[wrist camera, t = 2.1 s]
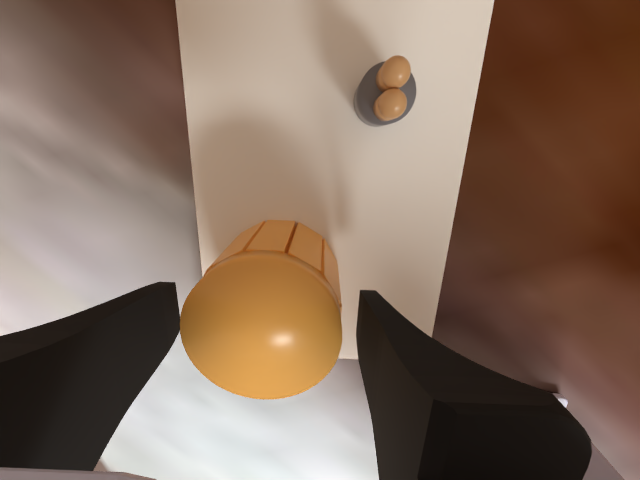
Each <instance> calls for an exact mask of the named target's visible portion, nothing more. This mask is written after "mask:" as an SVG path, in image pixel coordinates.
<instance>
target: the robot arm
mask: <svg viewBox="0 0 640 480" xmlns="http://www.w3.org/2000/svg"><path fill="white" fill-rule="evenodd" d="M179 331H180V314H179V307H178V300H177V292H176V285H175V282H157V283H154V284H151V285H148V286H145V287H142V288H140V289H137V290H135V291H132V292H130V293H127V294H125V295H122V296H120V297H117V298H115V299H112V300H110V301H108V302H105V303H102V304H100V305H97V306H95V307H92V308H89V309H87V310H84V311H81V312H79V313H76V314H73V315H71V316H68V317H65V318H62V319H59V320H56V321H53V322H50V323H46V324H43V325H40V326H37V327H33V328H30V329H26V330H23V331H19V332H15V333H11V334H7V335H3V336H0V480H156V479H152V478H148V477H143V476H139V475H134V474H129V473H125V472H102V471H93V470H94V468H95V466H96V464H97V462H98V461H99V459H100V457H101V455H102V453H103V451H104V449H105V448H106V446H107V444H108V442H109V440H110V439H111V437H112V435H113V434H114V432H115V430H116V428H117V427H118V425H119V423H120V421H121V420H122V418H123V416H124V415H125V413H126V412H127V410H128V409H129V407H130V405H131V404H132V402H133V401H134V400H135V398H136V397H137V395H138V394H139V393H140V391H141V390H142V388H143V387H144V386H145V384H146V383H147V381H148V380H149V379H150V377H151V376H152V374H153V373H154V372H155V370H156V369H157V368H158V366H159V365H160V363H161V362H162V360H163V359H164V358H165V356H166V355H167V353H168V352H169V350H170V348H171V347H172V345H173V343H174V341H175V339H176V337H177V335H178V333H179ZM356 342H357V352H358V360H359V364H360V369H361V373H362V378H363V382H364V386H365V391H366V395H367V400H368V404H369V408H370V413H371V419H372V424H373V432H374V440H375V448H376V456H377V465H378V473H379V480H624V479H623V478H622V476H621V475H620V474H619V473H618V472H617V471H616V470H615V469H614V467H613V466H612V465H611V464H610V463H609V462H608V461H607V459H606V458H605V457H604V456H603V455H602V454H601V453H600V452H599V450H598V449H597V448H596V447H595V446H594V445H593V444H592V442H591V439H590V438H589V436H588V434H587V432H586V431H585V429H584V428H583V427H582V426H581V424H580V423H579V422H578V421H577V420H576V419H575V418H574V417H573V416H572V414H571V413H570V412H569V411H568V410H567V409H566V407H567V404H568V401H567V399H566V398H565V397H564V396H563V395H561V394H558V393H549V392H546V391H543V390H541V389H538V388H535V387H532V386H530V385H527V384H524V383H521V382H519V381H516V380H513V379H511V378H508V377H506V376H504V375H501V374H499V373H497V372H494V371H492V370H490V369H488V368H485V367H483V366H481V365H479V364H477V363H475V362H473V361H471V360H469V359H467V358H465V357H463V356H461V355H460V354H458V353H456V352H454V351H452V350H451V349H449V348H447V347H445V346H444V345H442V344H441V343H439V342H438V341H436V340H435V339H433V338H431V337H430V336H428V335H427V334H426V333H424V332H423V331H421V330H420V329H419V328H418V327H416V326H415V325H414V324H412V323H411V322H410V321H409V320H408V319H406V318H405V317H404V316H403V315H402V314H400V313H399V312H398V311H397V310H396V309H395V308H394V307H393V306H392V305H391V304H390V303H389V302H387V301H386V300H385V299H384V298H383V297H382V296H381V295H380V294H379V293H378V292H377V291H376V290H360V294H359V305H358V316H357V327H356Z"/></svg>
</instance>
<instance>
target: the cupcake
mask: <svg viewBox="0 0 640 480" xmlns="http://www.w3.org/2000/svg"><path fill="white" fill-rule="evenodd" d="M341 313H342V303H341V293H340V283H339V273H338V264H337V260H336V258H335V256H334V255H333V253H332V251H331V249H330V247H329V245H328V244H327V242H326V240H325V238H324V239H322V236H321V235H320V234H318V233H316V232H315V231H313V230H312V229H310V228H308V227H307V226H305V225H303V224H302V223H300V222H298V224H297V226H296V227H295V221H288V220H267V221H266V222H265V221H262V222H260V223H259V224H257V225H255V226H253V227H251V228H249V229H247V230H245V231H243V232H241V233H240V234H239V235H238V236H237V237H236V238H235V240H234V241H233V242H232V243H231V244H230V245H229V246H228V247H227V248H226V249H225V250H224V251H223V253H222V254H221V255H220V256H219V257H218V258H217V259H216V260H215V261H214V262H213V263H212V264H211V266H210V267H209V268H208V269H207V270H206V272H205V274H204V276H203V278H202V279H201V280H200V281H199V282H198V283H197V284H196V286H195V287H194V288H193V289H192V290H191V292H190V293H189V295H188V296H187V298H186V300H185V303H184V305H183V308H182V312H181V317H180V334H181V339H182V343H183V345H184V348H185V351H186V353H187V355H188V356H189V358H190V360H191V361H192V363H193V364H194V365H195V367H196V368H197V369H198V370H199V371H200V372H201V373H202V374H203V375H204V376H205V377H206V378H207V379H209V380H210V381H211V382H213V383H214V384H216V385H217V386H219V387H221V388H223V389H225V390H227V391H229V392H232V393H234V394H237V395H240V396H244V397H249V398H255V399H279V398H285V397H290V396H293V395H296V394H299V393H302V392H304V391H306V390H308V389H310V388H311V387H313V386H315V385H316V384H317V383H319V382H320V381H321V380H322V379H324V377H325V376H326V375H327V374H328V373H329V372H330V371H331V369H332V368H333V366H334V365H335V363H336V361H337V359H338V356H339V353H340V350H341V345H342V322H341Z"/></svg>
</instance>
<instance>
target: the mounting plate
mask: <svg viewBox="0 0 640 480" xmlns="http://www.w3.org/2000/svg"><path fill="white" fill-rule="evenodd" d="M175 2H176V12H177V22H178V32H179V42H180V53H181V63H182V73H183V83H184V93H185V104H186V114H187V124H188V134H189V144H190V154H191V165H192V175H193V185H194V195H195V205H196V215H197V226H198V236H199V246H200V256H201V266H202V277H203V276H204V274H205V272H206V270H207V269H208V268H209V267H210V266H211V264H212V263H213V262H214V261H215V260H216V259H217V258H218V257H219V256H220V255H221V254H222V253H223V251H224V250H225V249H226V248H227V247H228V246H229V245H230V244H231V243H232V242H233V241H234V240H235V238H236V237H237V236H238V235H239V234H240V233H241V232H243V231H245V230H247V229H249V228H251V227H253V226H255V225H257V224H259V223H260V222H262V221H265V222H266V221H267V220H288V221H295V227H296V226H297V224H298V222H300V223H302V224H303V225H305V226H307V227H308V228H310V229H312V230H313V231H315V232H316V233H318V234H320V235H321V236H322V239H324V238H325V240H326V242H327V244H328V245H329V247H330V249H331V251H332V253H333V255H334V256H335V258H336V260H337V264H338V273H339V283H340V293H341V303H342V313H341V322H342V345H341V350H340V353H339V356H338V358H339V359H358V352H357V342H356V327H357V316H358V305H359V294H360V290H376V291H377V292H378V293H379V294H380V295H381V296H382V297H383V298H384V299H385V300H386V301H387V302H389V303H390V304H391V305H392V306H393V307H394V308H395V309H396V310H397V311H398V312H399V313H400V314H402V315H403V316H404V317H405V318H406V319H408V320H409V321H410V322H411V323H412V324H414V325H415V326H416V327H418V328H419V329H420V330H421V331H423V332H424V333H426V334H427V335H428V336H430V337H431V338H432V333H433V328H434V322H435V317H436V311H437V306H438V301H439V295H440V290H441V285H442V279H443V274H444V268H445V263H446V258H447V252H448V247H449V241H450V236H451V231H452V225H453V220H454V215H455V209H456V204H457V198H458V193H459V188H460V182H461V177H462V171H463V166H464V161H465V155H466V150H467V144H468V139H469V134H470V128H471V123H472V118H473V112H474V107H475V101H476V96H477V91H478V85H479V80H480V74H481V69H482V64H483V58H484V53H485V48H486V42H487V37H488V31H489V26H490V21H491V15H492V10H493V4H494V0H175Z"/></svg>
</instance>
